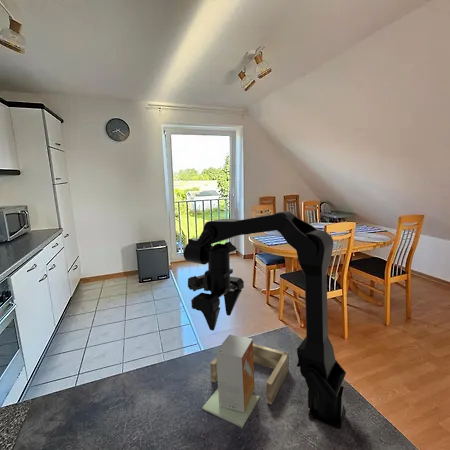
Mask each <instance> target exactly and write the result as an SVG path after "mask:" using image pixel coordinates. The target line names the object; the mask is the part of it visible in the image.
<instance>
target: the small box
mask: <svg viewBox="0 0 450 450" xmlns="http://www.w3.org/2000/svg"><path fill="white" fill-rule="evenodd" d="M253 339H254V338H250V337H244V336H239V335H233V334H229V335H228V336H227V337H226V338H225V340H224V341H223V342H222V343H221V344H220V346H219V348H218V349H217V351H216V352H215V358H216V363H217V379H218V380H217V389H218V397H219V406H222V407H225V408H229V409H232V410H236V411H240V412H244V413H245V410H246V408H247V405H248V403H249V400H250V398H251V396H252V394H253V393H254V391H255V387H256V385H255V369H254V368H255V365H254V364H255V363H254V360H253V343H254V340H253Z"/></svg>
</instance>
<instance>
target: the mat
mask: <svg viewBox="0 0 450 450" xmlns="http://www.w3.org/2000/svg"><path fill="white" fill-rule="evenodd" d="M259 400H260V396H259V395H256V394H253V393H252V396H251V398H250V400H249V403H248V405H247V408H246V410H245V413H244V412H240V411H236V410H232V409H229V408H225V407H222V406H219V397H218V388H216V390H215V391H214V393H213V394H212V395H211V396H210V398H209V399H208V400H207V401H206V402H205V404H204V405H203V406H202V407H201V408H202V410H203V411H204V412H205V411H206V412H207V413H210V414H212V415H213V416H216V417H218V418H221V419H223V420H225V421H226V422H230V423H232V424H233V425H235V426H238V427H240V428H243V427H244V426H245V424H246V422H247V420H248V419H249V417H250V415H251V414H252V412H253V410H254V408H255V406H256V405H257V403H258V401H259Z"/></svg>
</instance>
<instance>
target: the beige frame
mask: <svg viewBox="0 0 450 450" xmlns="http://www.w3.org/2000/svg"><path fill="white" fill-rule="evenodd" d="M289 355H290V353H289V352H286V351H281V350H278V349H274V348H271V347H268V346H264V345H259V344H257V343H254V342H253V360H254V364H256V365H259V366H264V367H265V368H266V367H267V368H270V369H272V370H273V371H272V373H271V374H270V376H269V378H268V379H267V381H266V385H265V386H266V396H265V397H266V404H269V405H271V406H272V405H273V403H274V400H275V399H276V397H277V394H278V393H279V390H281V389H280V388H281V386H282V385H283V382H284V381H285V379H286V377H287V375H288V373H289V372H290V371H289V366H290V365H289V364H290V362H289ZM209 367H210V381H211V382H213V383H217V382H218V379H217V363H216V357H215V358H214V359H212V361H211V362H210V366H209Z"/></svg>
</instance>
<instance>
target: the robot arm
mask: <svg viewBox="0 0 450 450" xmlns="http://www.w3.org/2000/svg"><path fill="white" fill-rule="evenodd" d="M274 231H277V232H278V233H279V234H280V235H281V236H282V237H283V239H284V241H286V243H287V244H288V245H289V246H290V247H292V248H293V249H294V250H295V251H296V254H297V255H296V256H297V261H298V264H299V266H300V268H301V271H302V273H303V276H304V294H305V295H304V299H305V325H306V326H305V331H306V334H305V335H306V336H305V337H304V339H303V340H302V341H301V343H300V344H299V345H298V346H297V348H296V353H297V364H296V367H298V368H299V372H300V374H301V377H303V378H304V379H305V383H306V386H307V389H308V390H307V408H308V409H309V410H308V414H307V415H308V416H307V417H308V418H310V419H311V420H314V421H316V422H319V423H321V424H324V425H328V426H330V427H333V428H335V429H337V430H341V429H342V425H343V419H344V412H345V406H344V391H345V390H344V388H345V387H344V385H343V382H344V379H345V377H346V374H347V372H346V370H345V369H344V368H343V367H342V366H341V364H340V363H339V362H338V361H337V359H336V355H335V351H334V346H333V343H332V342H331V340H330V338H329V327H328V326H329V321H328V320H329V319H328V318H329V317H328V280H327V279H328V278H327V277H328V276H327V275H328V270H329V267H330V264H331V263H330V262H331V259H332V255H333V250H334V239H333V237H332V236H331V234H329V232H327V231H325V230H322V229H317V228H316V227H315V226H314V225H312V224H310V223H308V222H306V221H304V220H302V219H301V218H299V217H297V216H296V215H295V214H294V213H292V212H291V211H288V210H285V211H280V212H279V211H278V212H276V213H274V214H267V215H263V216H262V215H261V216H256V217H250V218H244V219H235V218H220V219H213V220H208V221H206V222H205V223H204V225H203V229H202V232H201V233H200V236H199V237H198V238H197V237H195V238H194V237H191V238H188V240H187V241H188V243H187V244H186V245H185V247H184V250H183V259H184V260H185V261H186V262H189V263H194V264H200V265H208V266H207V270H205V272H204V274H201V275H198V276H197V275H194V276H190V277H189V278H187V288H188V289H189V290H191V291H192V292H196V291H199V290H202V289H203V291H205V292H200V293H198V294H197V295H195V296H194V297H193V298H192V299H191V301H190V302H191V309H193V310H196V311H199V312H201V313H202V314H203V317H204V319H205V322H206V324H207V326H208V328H209V330H210V331H213V332H214V331H215V329H216V325H217V322H218V319H219V316H220V315H219V314H220V310H221V307H220V305H221V304H220V303H221V301H220V298H221V297H223V299H224V307H225V313H226V314H225V315H226V316H231V314H232V313H233V311H234V307H236V306H235V305H236V303H237V301H238V298H239V297H240V294H241V293H242V289H244V288H245V284H244V283H245V282H244V280H243V279H242V278H241V277H236V276H231V275H232V274H233V272H234V269H233V268H231V266H230V265H231V264H230V263H231V262H230V261H231V260H230V259H231V258H230V256H231V255H230V253H233V252H235V251H237V247H236V246H235V245H233V244H232V242H231V241H226V240H230V239H232V238H235V237H238V236H245V235H251V234H258V233H260V234H261V233H266V232H274ZM224 241H226V242H225V243H220V242H224ZM212 244H214V245H212ZM206 292H210V293H206Z"/></svg>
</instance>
